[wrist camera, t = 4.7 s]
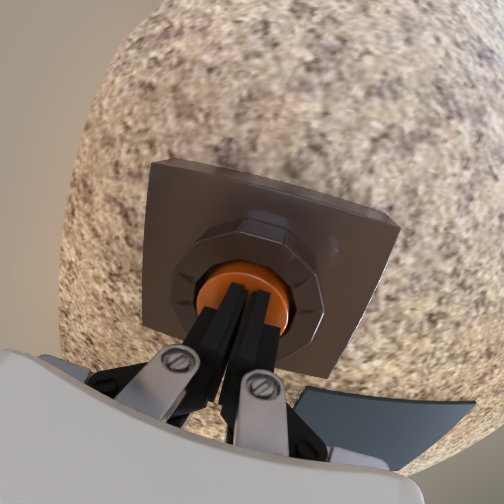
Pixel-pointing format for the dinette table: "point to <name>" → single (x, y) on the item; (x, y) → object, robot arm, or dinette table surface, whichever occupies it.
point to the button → (253, 281)
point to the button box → (262, 254)
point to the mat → (378, 423)
